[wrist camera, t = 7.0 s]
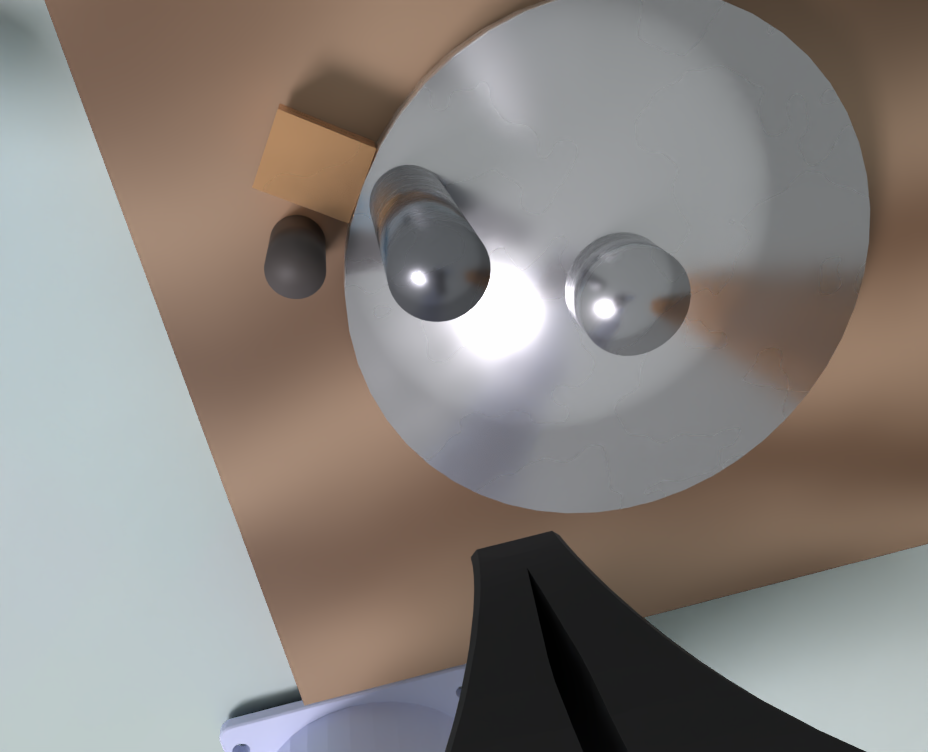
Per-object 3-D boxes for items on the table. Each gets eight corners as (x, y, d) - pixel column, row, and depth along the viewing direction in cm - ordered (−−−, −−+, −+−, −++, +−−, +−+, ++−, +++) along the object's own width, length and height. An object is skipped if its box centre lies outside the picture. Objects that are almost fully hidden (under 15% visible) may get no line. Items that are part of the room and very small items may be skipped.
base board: (920, 509, 26) (1005, 580, 23) (305, 667, 25) (303, 767, 22) (991, -370, 17) (1155, -461, 13) (-3, -194, 15) (-90, -247, 12)
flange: (940, 124, 19) (1171, 169, 14) (692, 538, 23) (800, 693, 18) (370, -177, 15) (397, -273, 10) (186, 392, 19) (135, 539, 14)
